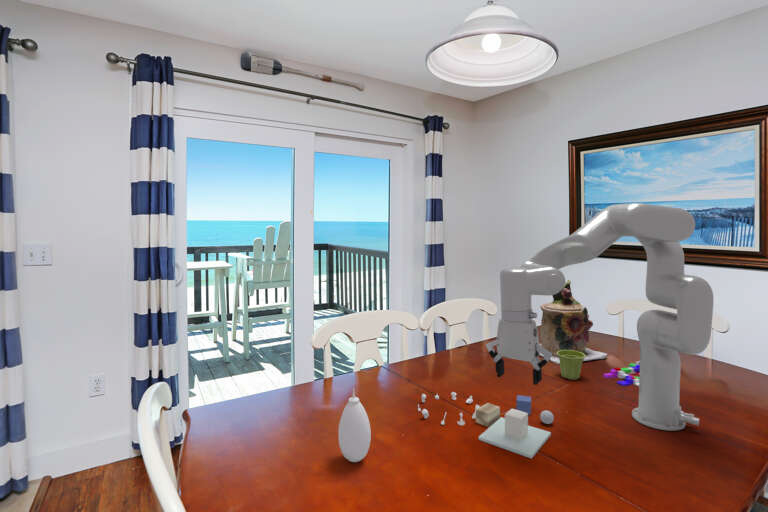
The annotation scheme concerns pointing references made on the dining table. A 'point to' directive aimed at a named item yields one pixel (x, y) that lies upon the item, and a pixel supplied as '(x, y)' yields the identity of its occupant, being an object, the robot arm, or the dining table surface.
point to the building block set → (626, 374)
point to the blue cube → (524, 404)
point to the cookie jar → (566, 326)
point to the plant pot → (570, 363)
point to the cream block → (516, 423)
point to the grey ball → (546, 417)
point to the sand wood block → (487, 414)
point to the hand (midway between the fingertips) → (518, 379)
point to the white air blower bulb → (354, 431)
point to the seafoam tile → (515, 439)
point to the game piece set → (446, 412)
